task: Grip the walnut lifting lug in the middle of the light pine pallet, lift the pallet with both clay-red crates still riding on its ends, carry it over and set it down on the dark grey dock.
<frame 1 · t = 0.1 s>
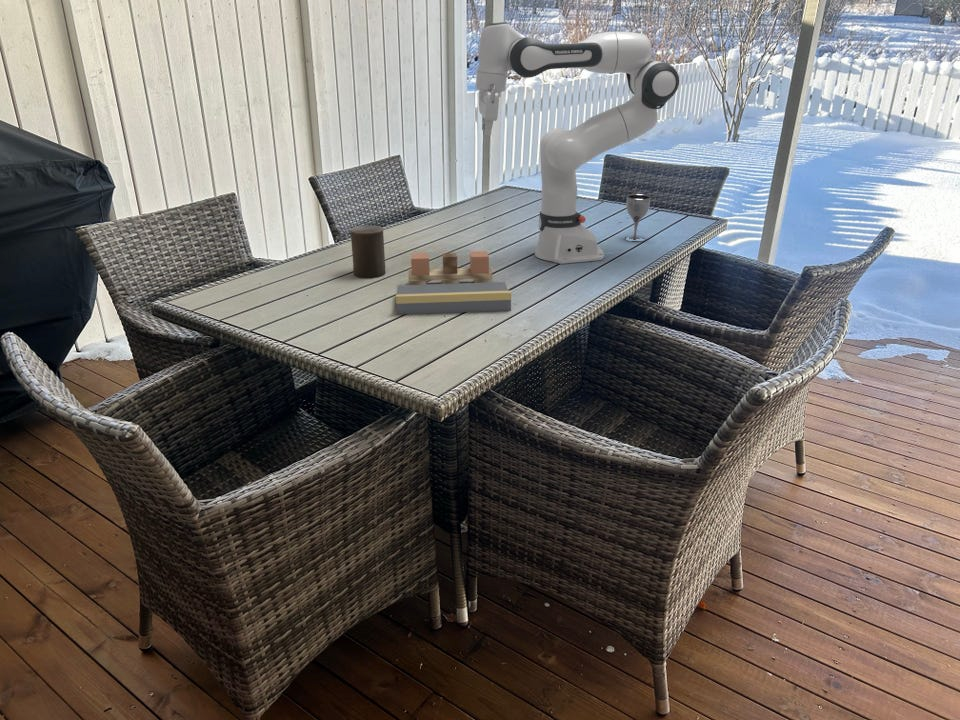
hand: (486, 133, 203), 39 cm above the table, tool pointing down, fingers open, 8 cm apart
pallet: (450, 284, 197), on the table, touching crate a, crate b
crate a: (479, 270, 196), point 4 cm above the table, touching pallet
wine glass: (634, 239, 238), on the table
dock: (452, 302, 184), on the table
crate b: (420, 272, 194), point 4 cm above the table, touching pallet
pillar candle: (370, 273, 207), on the table
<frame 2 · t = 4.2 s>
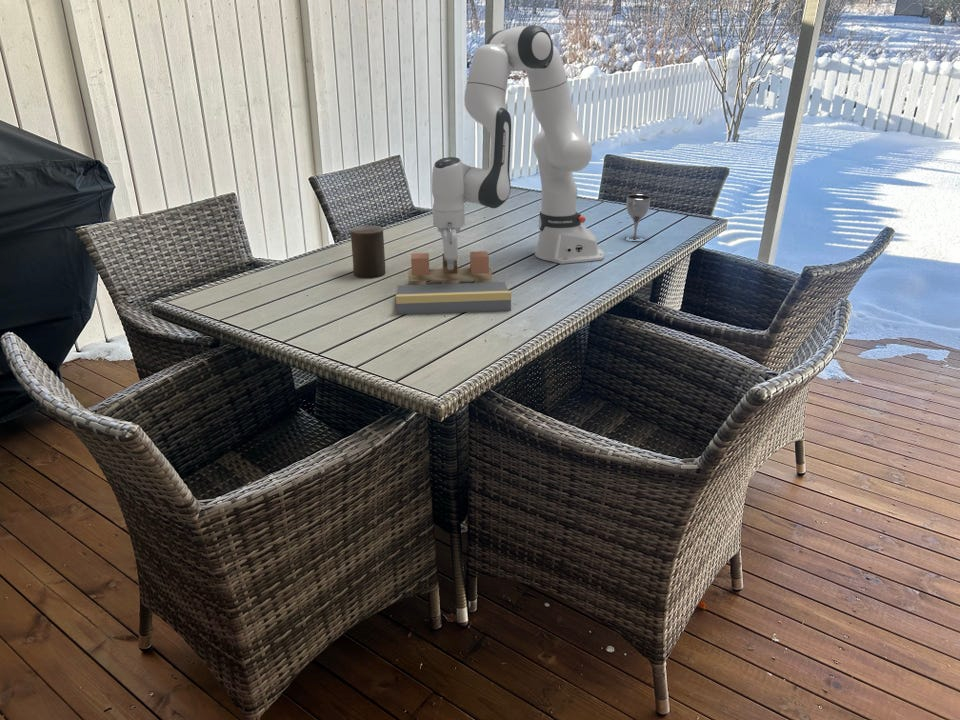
hand: (450, 266, 194), 6 cm above the table, tool pointing down, fingers closed on pallet, 3 cm apart
pallet: (450, 284, 197), on the table, touching crate a, crate b, gripper
everything else where it was.
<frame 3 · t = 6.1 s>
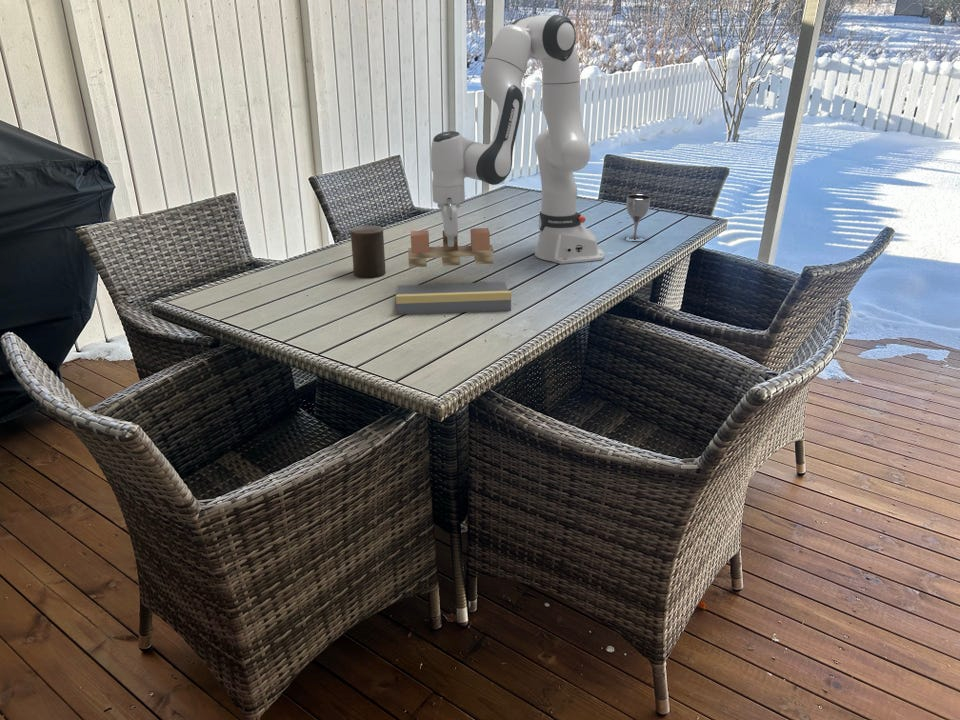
hand: (450, 243, 191), 12 cm above the table, tool pointing down, fingers closed on pallet, 3 cm apart
pallet: (450, 262, 194), point 7 cm above the table, touching crate a, crate b, gripper
crate a: (480, 247, 193), point 11 cm above the table, touching pallet
crate b: (420, 250, 191), point 11 cm above the table, touching pallet
everything else where it was.
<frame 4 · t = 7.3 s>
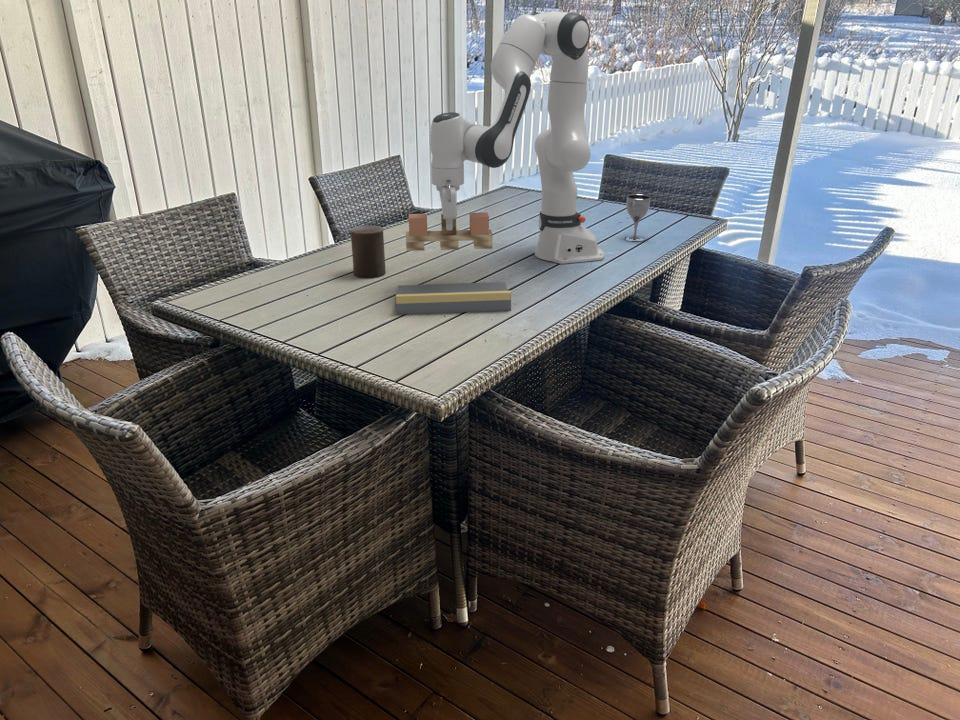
hand: (448, 227, 188), 17 cm above the table, tool pointing down, fingers closed on pallet, 3 cm apart
pallet: (449, 246, 191), point 12 cm above the table, touching crate a, crate b, gripper
crate a: (479, 232, 190), point 16 cm above the table, touching pallet
crate b: (418, 233, 189), point 16 cm above the table, touching pallet
everything else where it was.
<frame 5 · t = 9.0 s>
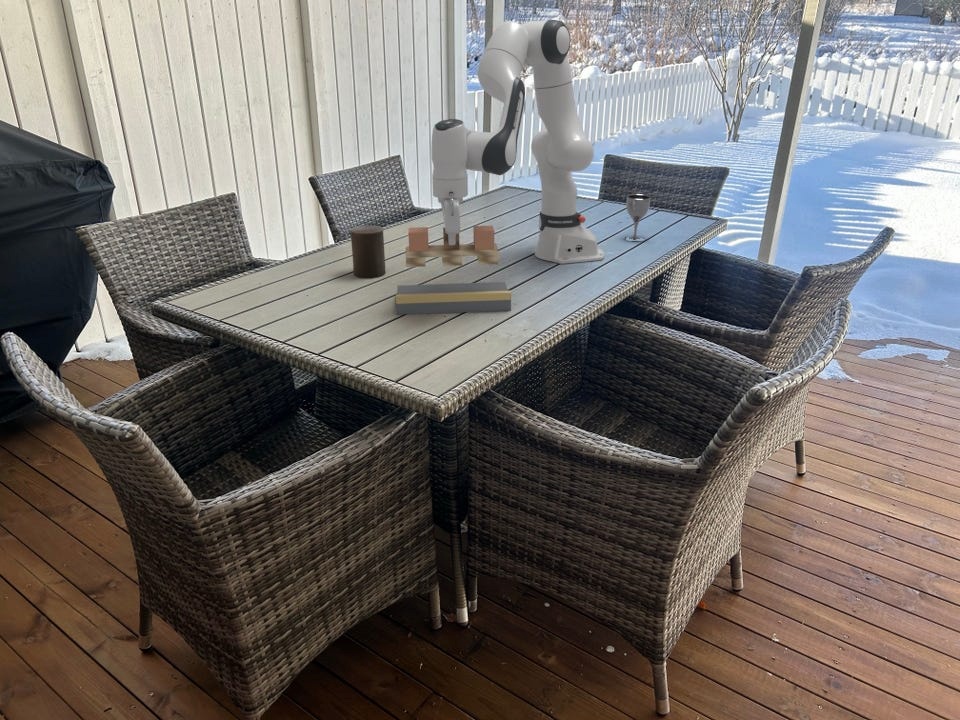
hand: (451, 241, 176), 17 cm above the table, tool pointing down, fingers closed on pallet, 3 cm apart
pallet: (451, 262, 179), point 11 cm above the table, touching crate a, crate b, gripper
crate a: (483, 246, 178), point 15 cm above the table, touching pallet
crate b: (419, 248, 176), point 15 cm above the table, touching pallet
everything else where it was.
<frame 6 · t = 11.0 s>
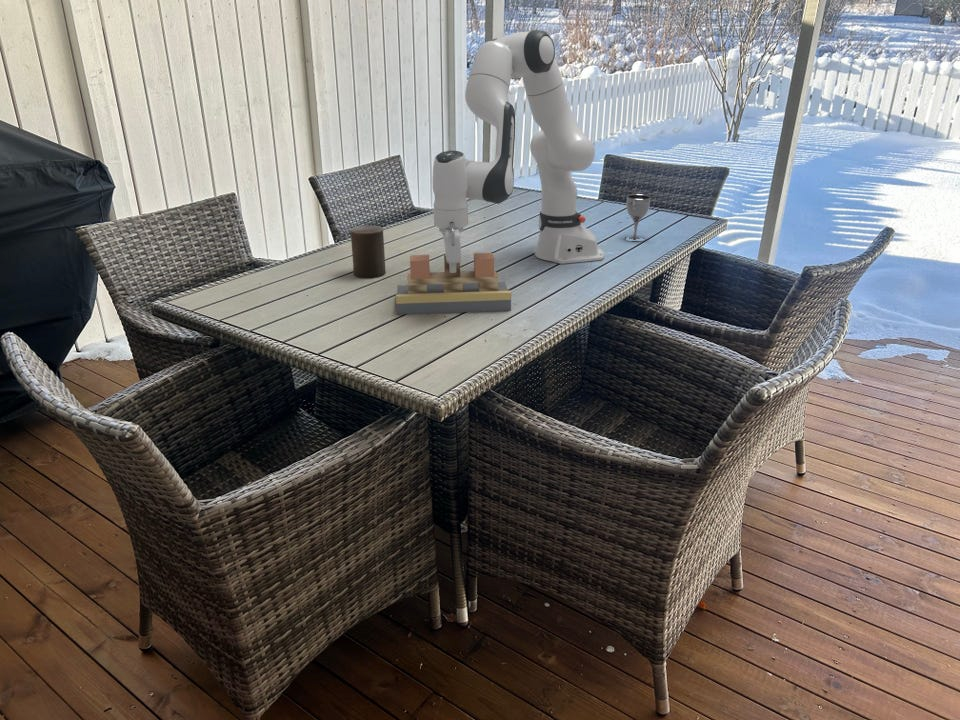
hand: (452, 269, 180), 10 cm above the table, tool pointing down, fingers closed on pallet, 3 cm apart
pallet: (452, 289, 182), point 4 cm above the table, touching crate a, crate b, gripper
crate a: (484, 273, 181), point 8 cm above the table, touching pallet
crate b: (420, 276, 180), point 8 cm above the table, touching pallet
everything else where it was.
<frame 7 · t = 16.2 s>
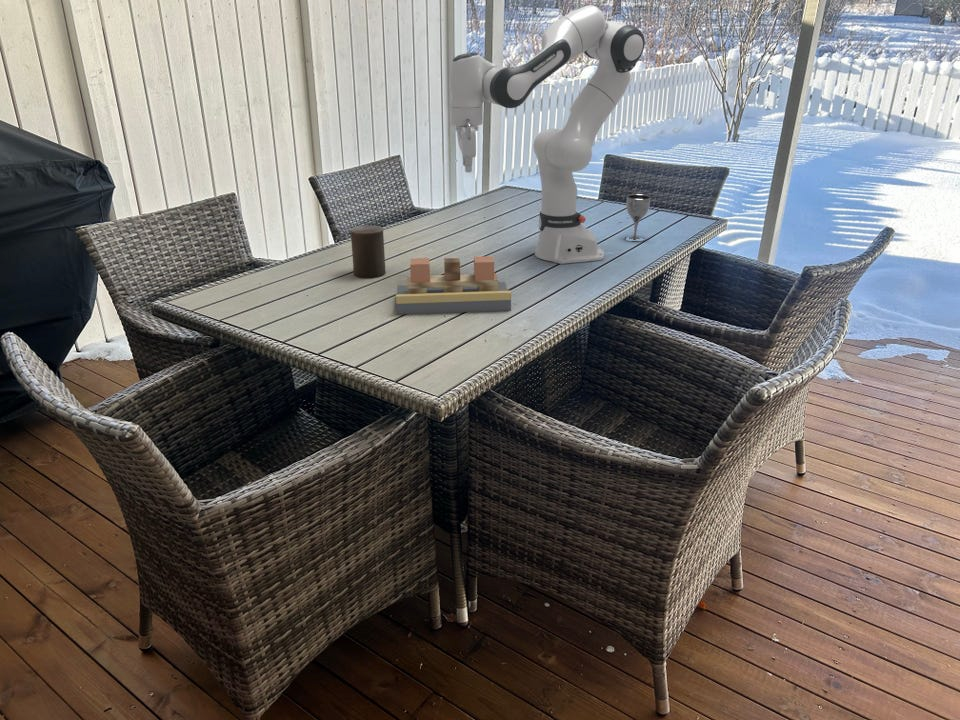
hand: (467, 168, 192), 31 cm above the table, tool pointing down, fingers open, 8 cm apart
pallet: (452, 292, 182), point 3 cm above the table, touching crate a, crate b, dock
at the end: pallet inside the target area on the dock (0.1 cm from its centre), point 3.0 cm above the dock's base; crate a inside the target area on the pallet (8.5 cm from its centre), point 4.0 cm above the pallet's base; crate b inside the target area on the pallet (8.5 cm from its centre), point 4.0 cm above the pallet's base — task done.
